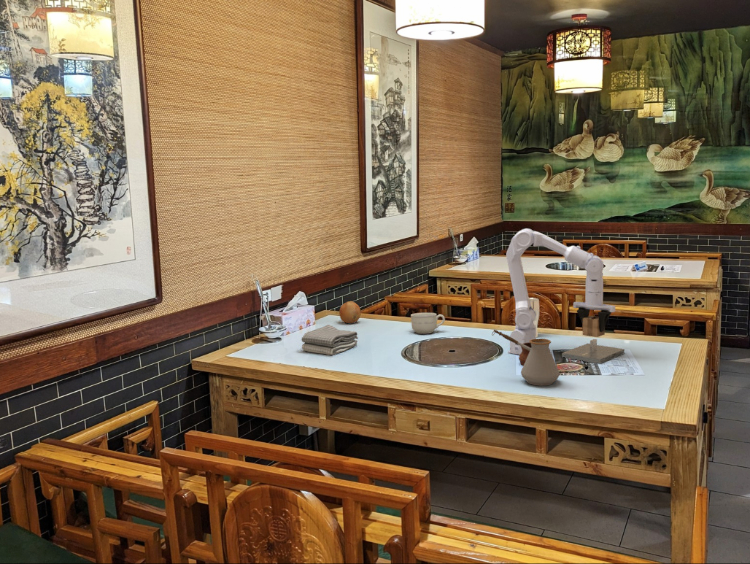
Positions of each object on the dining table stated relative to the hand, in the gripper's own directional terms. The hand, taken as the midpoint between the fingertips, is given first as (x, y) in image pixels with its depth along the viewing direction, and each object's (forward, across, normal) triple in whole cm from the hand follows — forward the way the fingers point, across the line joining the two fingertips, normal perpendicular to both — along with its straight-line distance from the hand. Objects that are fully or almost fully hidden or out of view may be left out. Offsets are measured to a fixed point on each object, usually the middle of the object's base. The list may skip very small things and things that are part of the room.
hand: (593, 330), depth 233 cm
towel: (+10, +81, +51) cm, 96 cm away
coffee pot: (+9, +2, +40) cm, 41 cm away
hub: (+9, 0, 0) cm, 9 cm away
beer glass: (+9, +33, -12) cm, 36 cm away
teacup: (+9, +70, +7) cm, 71 cm away
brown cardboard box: (+2, 0, 0) cm, 2 cm away
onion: (+9, +111, +13) cm, 112 cm away
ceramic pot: (+10, +10, +23) cm, 27 cm away
